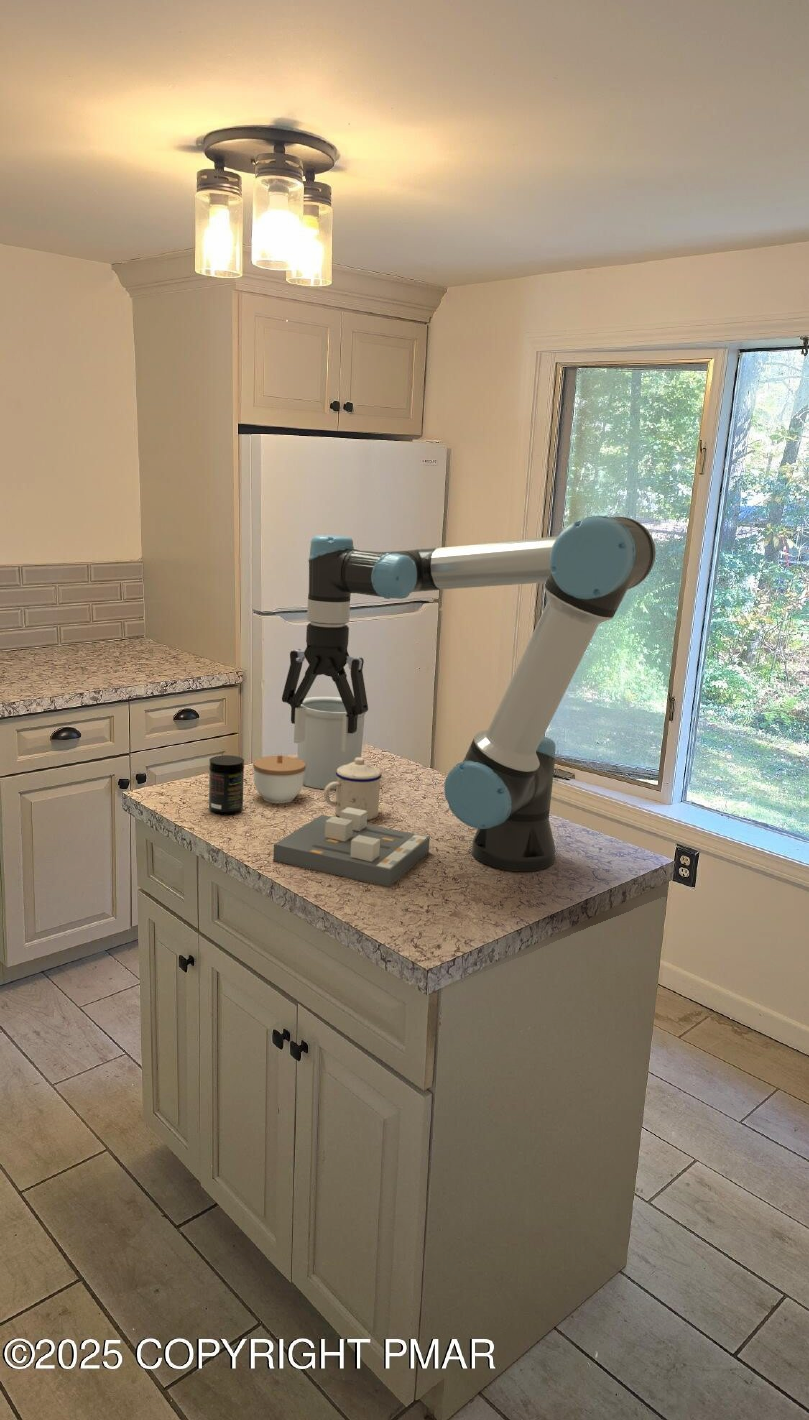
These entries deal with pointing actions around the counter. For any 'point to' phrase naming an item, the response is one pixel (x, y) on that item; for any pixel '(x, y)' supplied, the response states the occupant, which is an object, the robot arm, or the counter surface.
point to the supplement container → (226, 784)
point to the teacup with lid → (356, 788)
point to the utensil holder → (326, 741)
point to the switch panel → (334, 855)
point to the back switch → (355, 817)
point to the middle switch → (338, 828)
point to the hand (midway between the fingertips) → (322, 745)
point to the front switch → (365, 848)
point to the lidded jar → (279, 778)
